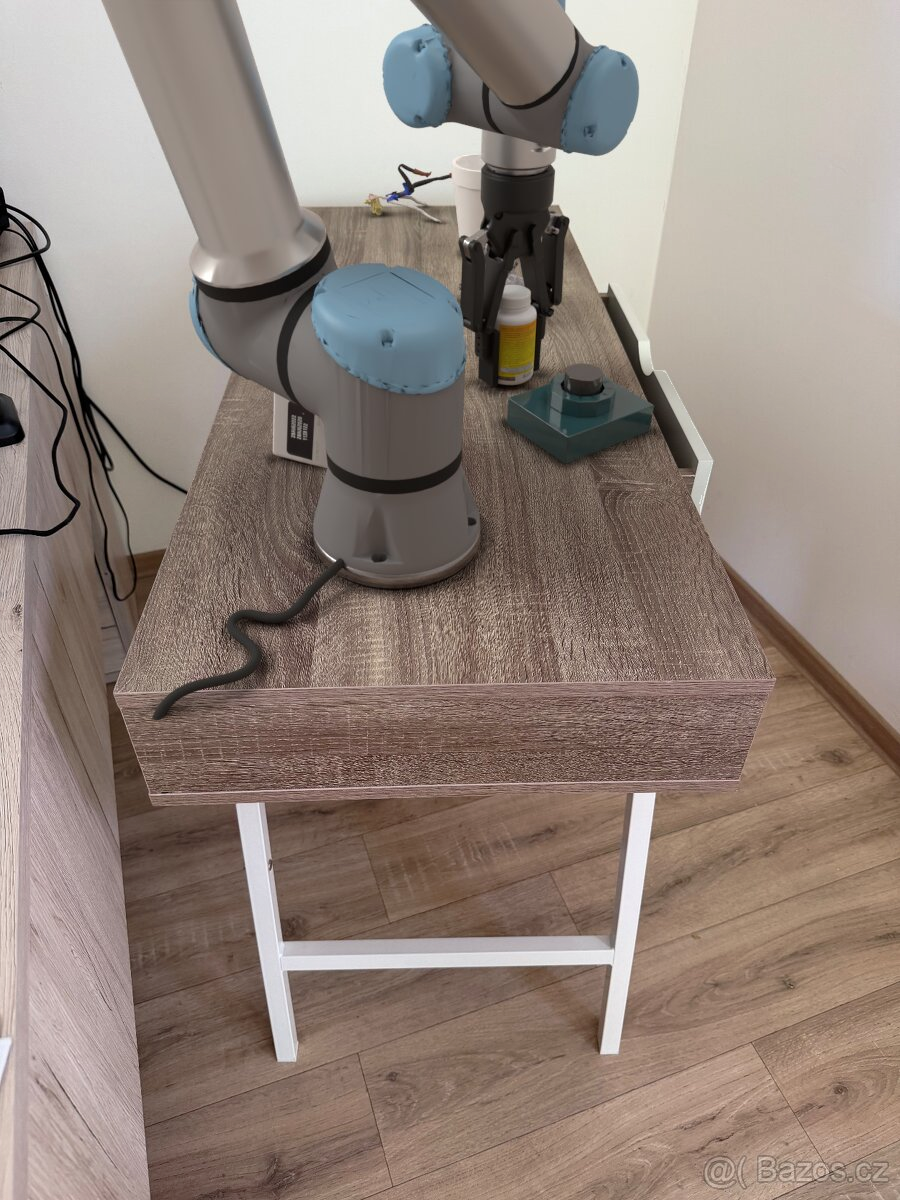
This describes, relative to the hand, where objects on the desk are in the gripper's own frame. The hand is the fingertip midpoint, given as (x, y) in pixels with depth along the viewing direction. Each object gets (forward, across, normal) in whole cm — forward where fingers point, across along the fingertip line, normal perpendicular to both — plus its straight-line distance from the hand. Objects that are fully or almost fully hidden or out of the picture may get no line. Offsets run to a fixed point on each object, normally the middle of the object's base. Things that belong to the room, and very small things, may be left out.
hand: (509, 373), depth 108 cm
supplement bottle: (+1, 0, 0) cm, 1 cm away
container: (+1, -26, 0) cm, 26 cm away
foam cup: (+1, +23, +34) cm, 41 cm away
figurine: (+1, +25, +56) cm, 61 cm away
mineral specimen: (+1, +11, +18) cm, 21 cm away
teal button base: (+1, -1, -13) cm, 13 cm away
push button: (-4, -1, -13) cm, 14 cm away
